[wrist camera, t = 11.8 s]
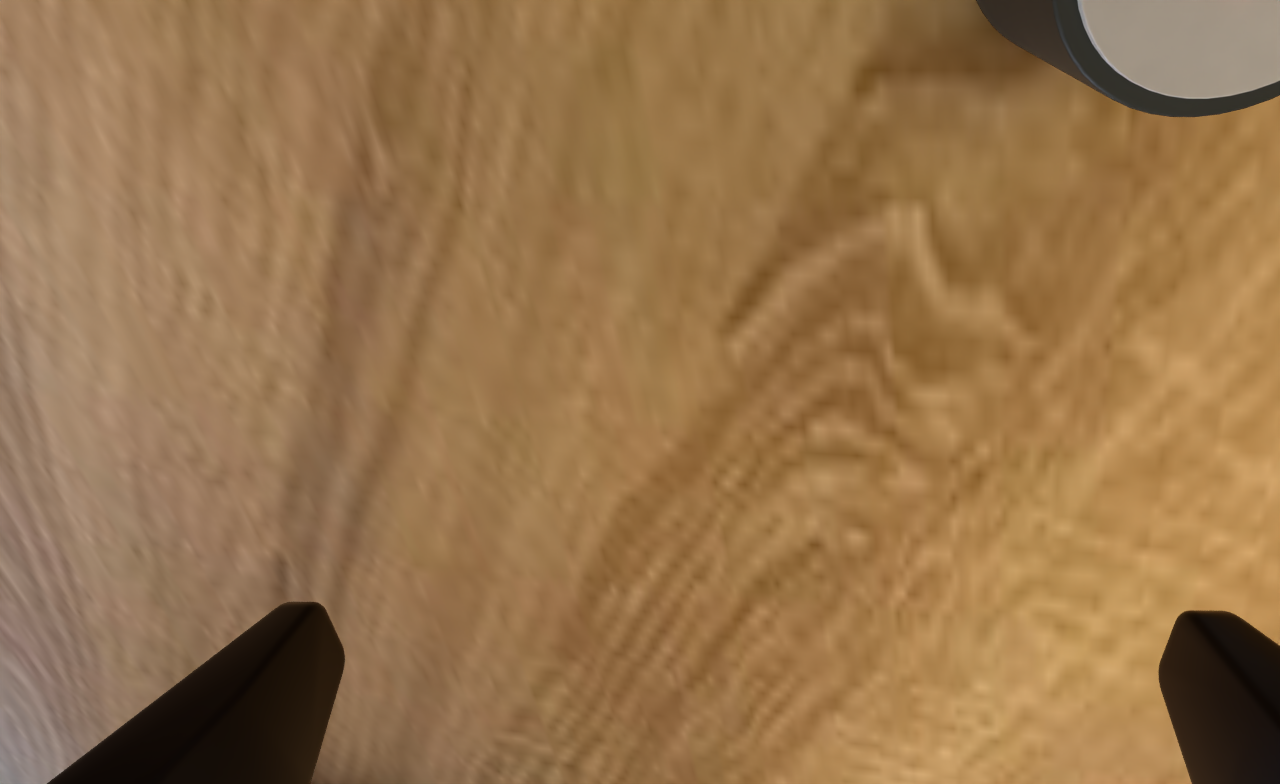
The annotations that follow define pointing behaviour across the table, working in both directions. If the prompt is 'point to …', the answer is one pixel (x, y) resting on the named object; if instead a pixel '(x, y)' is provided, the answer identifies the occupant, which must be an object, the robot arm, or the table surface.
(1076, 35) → the sushi
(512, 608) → the table surface
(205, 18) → the table surface
